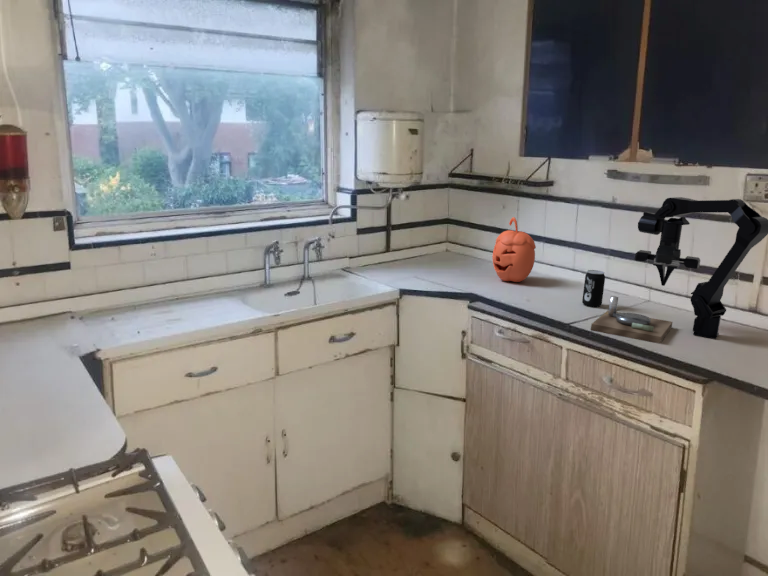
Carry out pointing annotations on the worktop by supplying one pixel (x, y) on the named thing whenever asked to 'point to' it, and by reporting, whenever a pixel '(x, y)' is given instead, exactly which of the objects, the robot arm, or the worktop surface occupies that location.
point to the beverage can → (593, 288)
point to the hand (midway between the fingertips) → (663, 285)
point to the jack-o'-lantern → (513, 254)
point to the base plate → (633, 328)
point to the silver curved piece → (626, 314)
